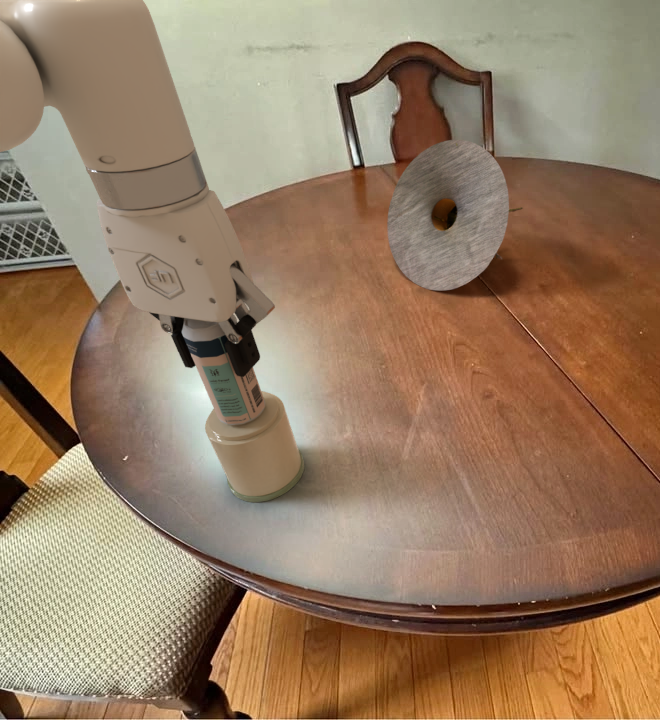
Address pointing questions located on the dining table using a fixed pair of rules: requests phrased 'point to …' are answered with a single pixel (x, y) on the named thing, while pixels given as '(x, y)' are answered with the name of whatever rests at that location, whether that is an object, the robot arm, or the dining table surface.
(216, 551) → the dining table surface
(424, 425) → the dining table surface
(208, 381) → the beer can
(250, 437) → the cup
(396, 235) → the disc
